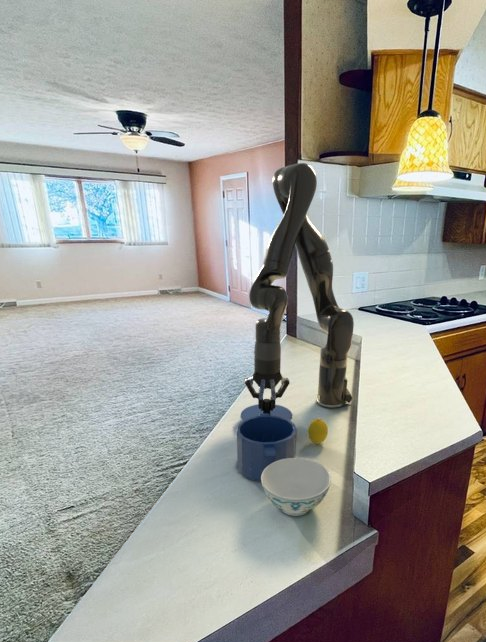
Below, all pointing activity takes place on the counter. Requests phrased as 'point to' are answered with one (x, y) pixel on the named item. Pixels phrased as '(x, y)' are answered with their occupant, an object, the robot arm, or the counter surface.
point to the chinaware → (295, 484)
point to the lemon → (317, 431)
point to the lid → (266, 411)
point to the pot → (264, 443)
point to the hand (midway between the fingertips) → (266, 409)
